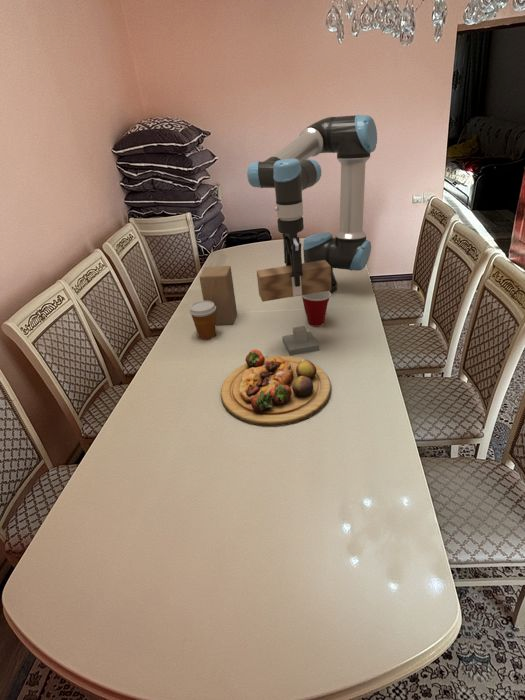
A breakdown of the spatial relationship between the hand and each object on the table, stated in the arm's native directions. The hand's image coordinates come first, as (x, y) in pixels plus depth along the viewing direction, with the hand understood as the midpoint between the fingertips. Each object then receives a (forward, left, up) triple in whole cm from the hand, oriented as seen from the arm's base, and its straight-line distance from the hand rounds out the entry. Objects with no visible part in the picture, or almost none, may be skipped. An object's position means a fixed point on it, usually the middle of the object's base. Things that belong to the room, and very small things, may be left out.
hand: (294, 290), depth 142 cm
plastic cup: (-11, -14, -20) cm, 26 cm away
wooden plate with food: (+13, +23, -21) cm, 33 cm away
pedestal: (-1, 0, -20) cm, 20 cm away
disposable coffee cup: (+29, -19, -20) cm, 40 cm away
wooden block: (+22, -30, -20) cm, 42 cm away
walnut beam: (0, 0, 0) cm, 0 cm away
